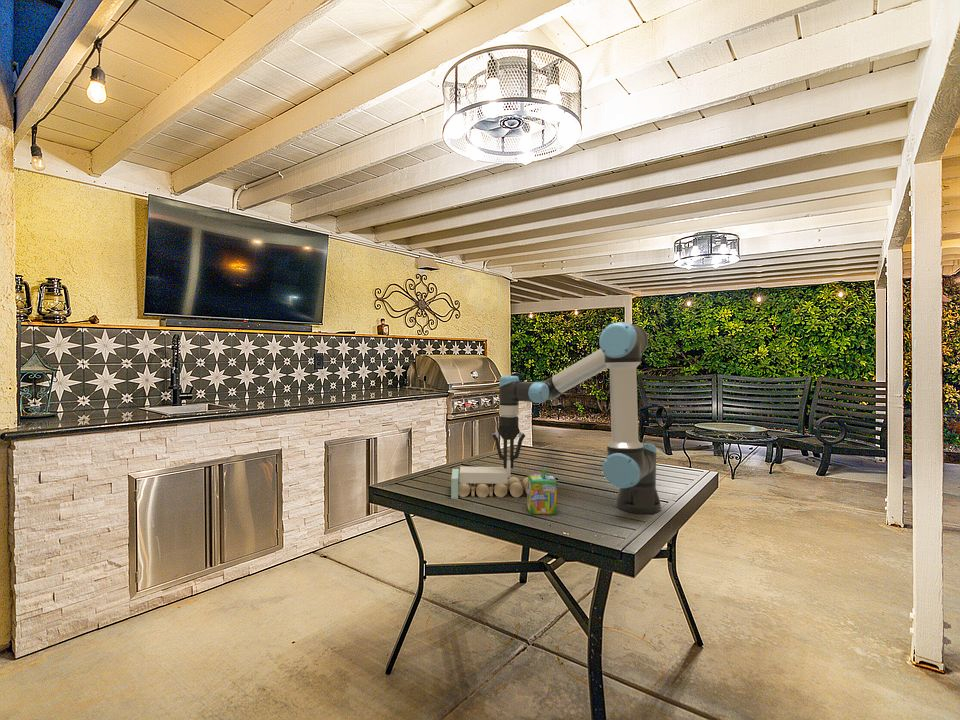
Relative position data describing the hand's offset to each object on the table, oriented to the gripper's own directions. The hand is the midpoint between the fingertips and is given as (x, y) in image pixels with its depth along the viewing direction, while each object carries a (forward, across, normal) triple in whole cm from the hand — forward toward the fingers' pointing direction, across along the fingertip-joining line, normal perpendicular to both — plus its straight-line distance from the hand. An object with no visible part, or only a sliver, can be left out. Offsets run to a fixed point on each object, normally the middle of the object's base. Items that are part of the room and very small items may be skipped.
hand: (508, 476), depth 189 cm
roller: (+6, +10, 0) cm, 11 cm away
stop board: (+6, +21, 0) cm, 22 cm away
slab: (+1, +10, 0) cm, 10 cm away
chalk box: (+7, -10, +21) cm, 24 cm away
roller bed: (+6, +4, 0) cm, 8 cm away
